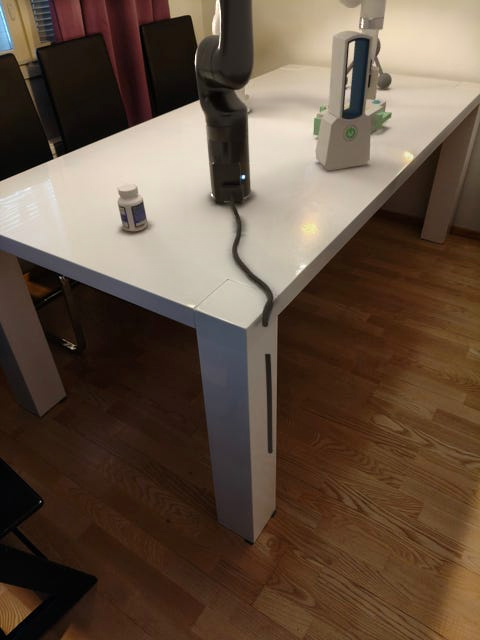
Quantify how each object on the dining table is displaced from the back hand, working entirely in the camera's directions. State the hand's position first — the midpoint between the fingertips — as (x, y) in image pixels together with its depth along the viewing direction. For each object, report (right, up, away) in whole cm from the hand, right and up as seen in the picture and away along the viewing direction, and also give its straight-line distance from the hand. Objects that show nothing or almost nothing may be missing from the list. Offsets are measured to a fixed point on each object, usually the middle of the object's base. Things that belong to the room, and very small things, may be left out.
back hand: (364, 84), depth 166 cm
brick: (0, -4, +3) cm, 5 cm away
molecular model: (+4, +13, +27) cm, 30 cm away
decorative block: (-9, -21, -15) cm, 28 cm away
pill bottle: (-65, -60, -61) cm, 108 cm away
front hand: (-16, -8, -61) cm, 64 cm away
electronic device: (-16, -39, -38) cm, 57 cm away
